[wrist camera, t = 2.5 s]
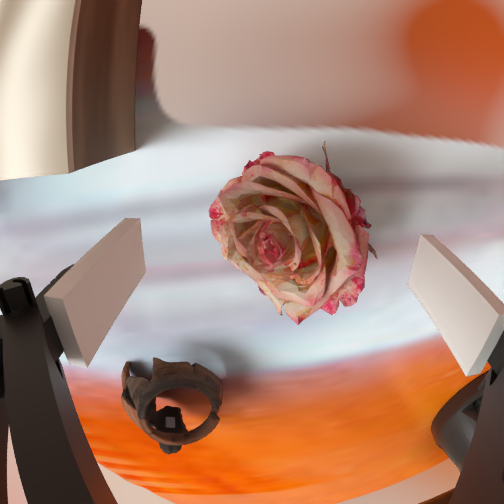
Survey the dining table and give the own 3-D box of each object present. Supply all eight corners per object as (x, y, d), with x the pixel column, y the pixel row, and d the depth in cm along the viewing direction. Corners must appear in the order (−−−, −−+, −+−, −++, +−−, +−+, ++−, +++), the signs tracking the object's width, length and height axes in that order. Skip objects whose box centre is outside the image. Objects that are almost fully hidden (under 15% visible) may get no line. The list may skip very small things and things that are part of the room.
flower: (371, 125, 16) (307, 124, 11) (407, 270, 18) (365, 342, 12) (253, 166, 23) (168, 187, 17) (289, 278, 25) (219, 329, 19)
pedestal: (143, -9, 14) (88, -54, 7) (134, 150, 19) (68, 173, 12) (19, 31, 14) (-48, 22, 7) (15, 163, 19) (-53, 188, 12)
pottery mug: (111, 334, 27) (113, 379, 19) (204, 324, 31) (235, 362, 23) (131, 428, 29) (143, 480, 21) (210, 415, 33) (237, 461, 25)
